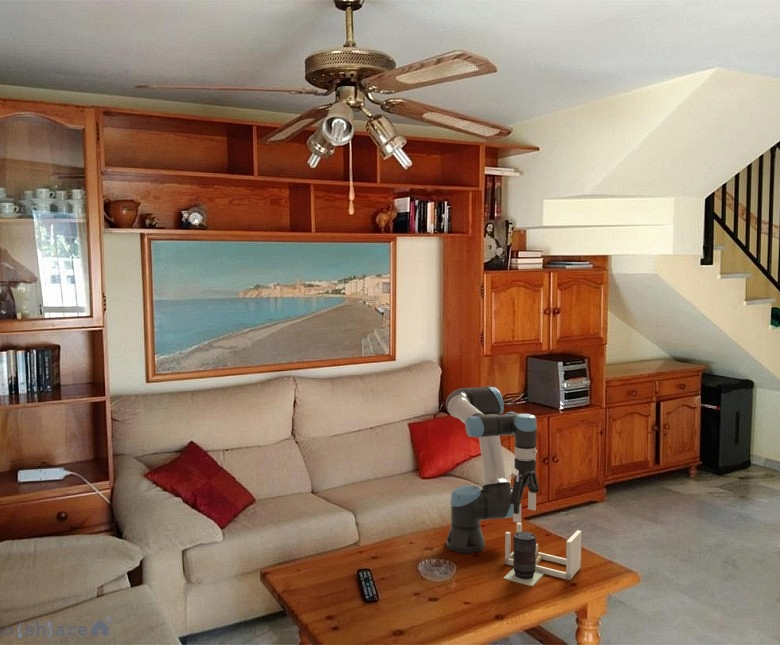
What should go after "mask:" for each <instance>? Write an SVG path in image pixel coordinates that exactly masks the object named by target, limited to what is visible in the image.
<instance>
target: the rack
mask: <svg viewBox="0 0 780 645" xmlns="http://www.w3.org/2000/svg"><path fill="white" fill-rule="evenodd" d="M522 524H523V523H522V522H521V523H518V522H516V527H515V528H516V532H515V533H517V532H523V531H522V526H523V525H522ZM511 536H512V532H510V531H506V532H505V536H504V537H505V539H504V540H505V541H504V542H505V545H504V546H505V547H504V548H505V549H504V551H505V552H504V554H505V555H504V559H505V561H504V562H505V563H504V564H506V565H509V566H513V559H514V550H513V551H512V552H511V550H512V549H511V548H512V546H511V545H512V541H511V540H512V538H511ZM565 548H566V550H565V554H566V556H565V558H564V557H560V556H557V555H553V554H547V553H545V552H540V551H539V556H541V560H544V561H547V562H548V561H549V562H553V563H557V564H561V565H564V566H565V571H561V570H557V569H554V568H550V567H546V566H541V565H538V564H537V565H536V567H535V571H537V572H541V573H544V575H548V576H552V577H555V578H559V579H560V578H561V579H563V580H568V581H571V580H572V579H573V577H574V576H575V575H576V573H577V572H579V570H580V569H581V568H582V567H581V566H582V530H579V529H577V530H576V531H575V532H574V533H573V534H572V535H571V536H570V537H569V538H568V539H567V540H566V547H565ZM513 567H514V566H513Z"/></svg>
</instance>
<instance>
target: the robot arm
mask: <svg viewBox="0 0 780 645" xmlns="http://www.w3.org/2000/svg"><path fill="white" fill-rule="evenodd" d="M445 408H446V411H447V413H448V414H449V415H450V416H451V417H453V418H456V419H458V420H460V421H461V422H462V423H463V424H464V425H465V432H466V435H467V436H468V437H470V438H478V440H479V447H480V456H481V462H482V469H483V470H482V471H483V477H484V482H483V483H482V484H481V488H482V489H481V488H480V487H479V486H476V485H462V486H458V487H456V488H455V489H454V490H453V491H452V492H451V495H450V529H449V531H448V533H447V538H446V547H447V548H448V549H449V550H450V551H452V552H455V553H459V554H474V553H480V552H482V551H483V550H484V549H485V543H486V542H485V539H484V538H485V537H484V535H483V532H482V528H481V521H486V520H499V519H508V518H512V522H514V523H522V504H521V503H522V502H521V501H522V498H523V494H524V491H525V488H526V487H527V489H528V490H529V491H527V497H528V498H527V510H529V511H536V510H537V493H539V491H540V490H539V481H538V477H537V472H536V471H537V470H536V469H537V459H536V458H537V453H538V450H537V427H538V425H537V417H536V415H533V414H531V413H518V412H514V411H509V412H506V413H505V414H503V413H504V409H505V407H504V399H503V396H502V394H501V392H500V390H499V389H498V388H497V387H495V386H482V387H481V386H479V387H462V388H458V389H457V388H456V389H455V390H453V391H452V392H451V393H450V394H449V395H448V397H446V400H445ZM500 436H501V437H502V436H513V437H514V455H513V456H514V457H515V458H514V469H515V470H517V471H518V474H517V475H514V476H513V477H514V478H513V485H511V482H510V481H509V480H508V479H507V477H506V470H505V463H504V457H503V451H502V450H503V449H502V444H501V438H500Z"/></svg>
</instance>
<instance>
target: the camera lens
mask: <svg viewBox="0 0 780 645" xmlns="http://www.w3.org/2000/svg"><path fill="white" fill-rule="evenodd" d="M512 541H513V542H512V544H513V551H514V559H513V568H514V571H515V576H516V577H518V578H520V579H531V578H533V576H534V573H535V567H536V561H535V560H536V556H535V551H536V544H537V538H536V535H535V533H532V532H530V531H522V532H517V533H516V532H515V533H514V534H513V540H512Z"/></svg>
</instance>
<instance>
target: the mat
mask: <svg viewBox="0 0 780 645" xmlns="http://www.w3.org/2000/svg"><path fill="white" fill-rule="evenodd" d="M544 575H545V574H544V573H541V572H537V571H535V573H534V576H533V578H531V579H520V578H518V577H516V576H515V571H514V567H513V568H512V569H511V570H510V571H509V572H508V573H506V575H505V576H504V577H503V580H507V581H510V582H511V581H512V582H515V583H519V584H521V585H525V586H526V585H527V586H529V587H534V586H535V585H536V584H537V582H538V581H539V580H540V579H541V578H542V577H543V576H544Z"/></svg>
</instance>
